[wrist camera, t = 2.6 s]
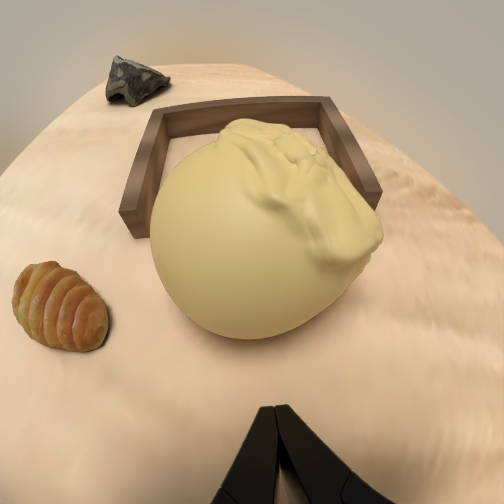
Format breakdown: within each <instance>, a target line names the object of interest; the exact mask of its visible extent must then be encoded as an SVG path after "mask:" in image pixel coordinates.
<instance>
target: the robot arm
mask: <svg viewBox="0 0 504 504" xmlns="http://www.w3.org/2000/svg"><path fill="white" fill-rule="evenodd" d="M279 464H280V466H279ZM280 470H281V474H282V477H283V481H284V485H285V488H286V492H287V495H288V498H289V502H290V504H395V503H394V502H392V501H391V500H389V499H387V498H386V497H384V496H383V495H382V494H380V493H379V492H377V491H376V490H374V489H373V488H372V487H371V486H369V485H368V484H367V483H366V482H365V481H363V480H362V479H361V478H360V477H359V476H358V475H357V474H356V473H355V472H354V471H351V469H350V468H349V467H348V466H347V465H346V464H345V463H344V462H343V461H342V460H341V459H340V458H339V457H338V456H337V455H336V454H335V453H334V452H333V451H332V450H331V449H330V448H329V447H328V446H327V445H326V444H325V443H324V442H323V441H322V440H321V439H320V438H319V437H318V436H317V435H316V434H315V433H314V432H313V431H312V430H311V429H310V428H309V427H308V426H307V424H306V423H305V422H304V421H303V420H302V419H301V418H300V417H299V416H298V415H297V414H296V413H295V412H294V411H293V409H292V408H291V407H290V406H289V405H287V404H284V405H276V406H275V407H273V406H265V407H260V408H259V410H258V412H257V414H256V417H255V419H254V421H253V423H252V425H251V427H250V429H249V431H248V433H247V436H246V438H245V440H244V442H243V444H242V446H241V448H240V450H239V452H238V454H237V456H236V458H235V460H234V462H233V463H232V465H231V467H230V469H229V471H228V473H227V475H226V477H225V479H224V481H223V482H222V484H221V488H219V490H218V491H217V493H216V495H215V497H214V498H213V500H212V502H211V503H210V504H278V501H279V477H280Z"/></svg>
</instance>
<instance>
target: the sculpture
mask: <svg viewBox="0 0 504 504" xmlns="http://www.w3.org/2000/svg"><path fill="white" fill-rule="evenodd" d="M383 237H384V234H383V230H382V225H381V222H380V219H379V217H378V216H377V214H376V213H375V212H374V210H373V209H372V208H371V207H370V206H369V204H368V203H367V202H366V201H365V200H364V198H363V197H362V196H361V195H360V194H359V192H358V191H357V190H356V189H355V188H354V186H353V185H352V184H351V182H350V181H349V179H348V178H347V176H346V174H345V173H344V171H343V170H342V169H341V168H340V167H339V166H338V165H337V164H336V163H335V161H334V160H333V159H332V158H331V157H330V156H329V155H328V154H327V153H326V152H325V151H323V150H322V149H320V148H319V147H318V146H317V145H316V144H314V143H313V142H311V141H309V140H307V139H306V138H305V137H304V136H303V135H302V134H300V133H296V132H295V131H294V130H292V129H291V128H290V127H288V126H286V125H284V124H271V123H265V122H261V121H257V120H252V119H238V120H234V121H232V122H231V123H229V124H228V125H227V126H226V127H225V129H223V130H221V131H220V133H219V136H218V140H217V141H214V142H212V143H210V144H207V145H205V146H203V147H201V148H200V149H198V150H196V151H195V152H193V153H192V154H190V155H189V156H188V157H186V158H185V159H184V160H183V161H182V162H181V163H179V164H178V165H177V166H176V167H175V168H174V170H173V171H172V172H171V173H170V174H169V176H168V177H167V178H166V180H165V181H164V183H163V185H162V186H161V188H160V190H159V192H158V195H157V197H156V200H155V203H154V206H153V210H152V215H151V222H150V243H151V251H152V256H153V260H154V264H155V267H156V270H157V272H158V275H159V277H160V279H161V282H162V284H163V286H164V287H165V289H166V291H167V293H168V294H169V296H170V297H171V299H172V300H173V301H174V303H175V304H176V305H177V306H178V307H179V308H180V310H181V311H182V312H183V313H184V314H185V315H186V316H188V317H189V318H190V319H191V320H192V321H194V322H195V323H196V324H198V325H199V326H201V327H203V328H205V329H206V330H208V331H210V332H213V333H215V334H218V335H221V336H225V337H229V338H235V339H261V338H267V337H271V336H275V335H279V334H282V333H285V332H287V331H290V330H292V329H294V328H296V327H298V326H300V325H302V324H303V323H305V322H306V321H308V320H309V319H311V318H312V317H314V316H315V315H317V314H318V313H320V312H321V311H322V310H324V309H325V308H327V307H328V306H329V305H330V304H332V303H333V302H334V301H335V300H336V299H337V298H339V297H340V296H341V295H342V294H343V292H344V291H345V290H346V289H347V288H348V286H349V285H350V284H351V283H352V282H353V281H354V280H355V279H356V278H357V276H358V275H359V274H361V273H362V271H363V269H364V267H365V266H366V264H367V263H368V262H369V261H370V258H371V253H373V252H374V251H375V250H376V249H377V248H378V246H379V245H380V244H381V243H382V241H383Z"/></svg>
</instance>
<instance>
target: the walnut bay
mask: <svg viewBox="0 0 504 504" xmlns="http://www.w3.org/2000/svg"><path fill="white" fill-rule="evenodd" d="M238 119H252V120H257V121H261V122H265V123H271V124H284V125H286V126H288V127H290V128H311V127H312V128H318V130H319V132H320V134H321V137H322V139H323V141H324V143H325V146H326V148H327V150H328V153H329V155H330V157H331V158H332V159H333V160H334V161H335V163H336V164H337V165H338V166H339V167H340V168H341V169H342V170H343V171H344V173H345V174H346V176H347V178H348V179H349V181H350V182H351V184H352V185H353V186H354V188H355V189H356V190H357V191H358V192H359V194H360V195H361V196H362V197H363V198H364V200H365V201H366V202H367V203H368V204H369V206H370V207H371V208H372V209H373V210H374V211H375V209H376V207H377V204H378V202H379V200H380V197H381V195H382V193H383V191H382V189H381V186H380V184H379V182H378V180H377V178H376V176H375V174H374V172H373V170H372V168H371V167H370V165H369V163H368V161H367V159H366V157H365V155H364V153H363V152H362V150H361V148H360V146H359V144H358V143H357V141H356V139H355V137H354V135H353V134H352V132H351V130H350V129H349V127H348V125H347V124H346V122H345V120H344V119H343V117H342V115H341V114H340V112H339V111H338V109H337V107H336V106H335V104H334V103H333V101H332V100H331V98H330V97H323V96H268V97H248V98H234V99H223V100H214V101H205V102H197V103H190V104H183V105H177V106H171V107H165V108H159V109H154V110H153V112H152V114H151V117H150V119H149V121H148V124H147V127H146V129H145V132H144V134H143V137H142V140H141V142H140V145H139V148H138V151H137V153H136V156H135V159H134V162H133V165H132V168H131V171H130V174H129V177H128V180H127V184H126V187H125V190H124V194H123V197H122V201H121V204H120V208H119V211H118V212H119V214H120V216H121V217H122V219H123V221H124V222H125V224H126V226H127V228H128V229H129V231H130V233H131V234H132V236H133V238H143V237H150V222H151V215H152V210H153V206H154V203H155V200H156V197H157V195H158V190H159V185H160V180H161V176H162V171H163V166H164V162H165V158H166V153H167V149H168V145H169V141H170V138H176V137H183V136H191V135H199V134H207V133H216V132H220V131H221V130H223V129H225V127H226V126H227V125H228V124H229V123H231V122H232V121H234V120H238Z"/></svg>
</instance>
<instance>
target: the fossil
mask: <svg viewBox="0 0 504 504" xmlns="http://www.w3.org/2000/svg"><path fill="white" fill-rule="evenodd" d="M170 79H171V78H170V77H165V76H164V75H162V74H161V73H160V72H158V71H156V70H154V69H152V68H149V67H147V66H144V65H142V64H139V63H136V62H134V61H131V60H126V59H125V60H124V59H122V58H121V57H119V56H115V57H114V59H113V63H112V67H111V71H110V74H109V79H108V82H107V85H106V98H107V100H108V101H112V100H113V99H115V98H117V97H119V96H120V95H122V94H123V95H124V98H125V101H126V102H127V103H129V105H130V106H131V107H135V106H136V105H137V104H138V103H139V102H140V101H141V100H142V99H143V97H144V96H145V95H148V94H151V93H152V92H154V91H155V90H156V89H157V88H158V87H159V86H162V85H164V86H167V85H168V83H169V82H170Z"/></svg>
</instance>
